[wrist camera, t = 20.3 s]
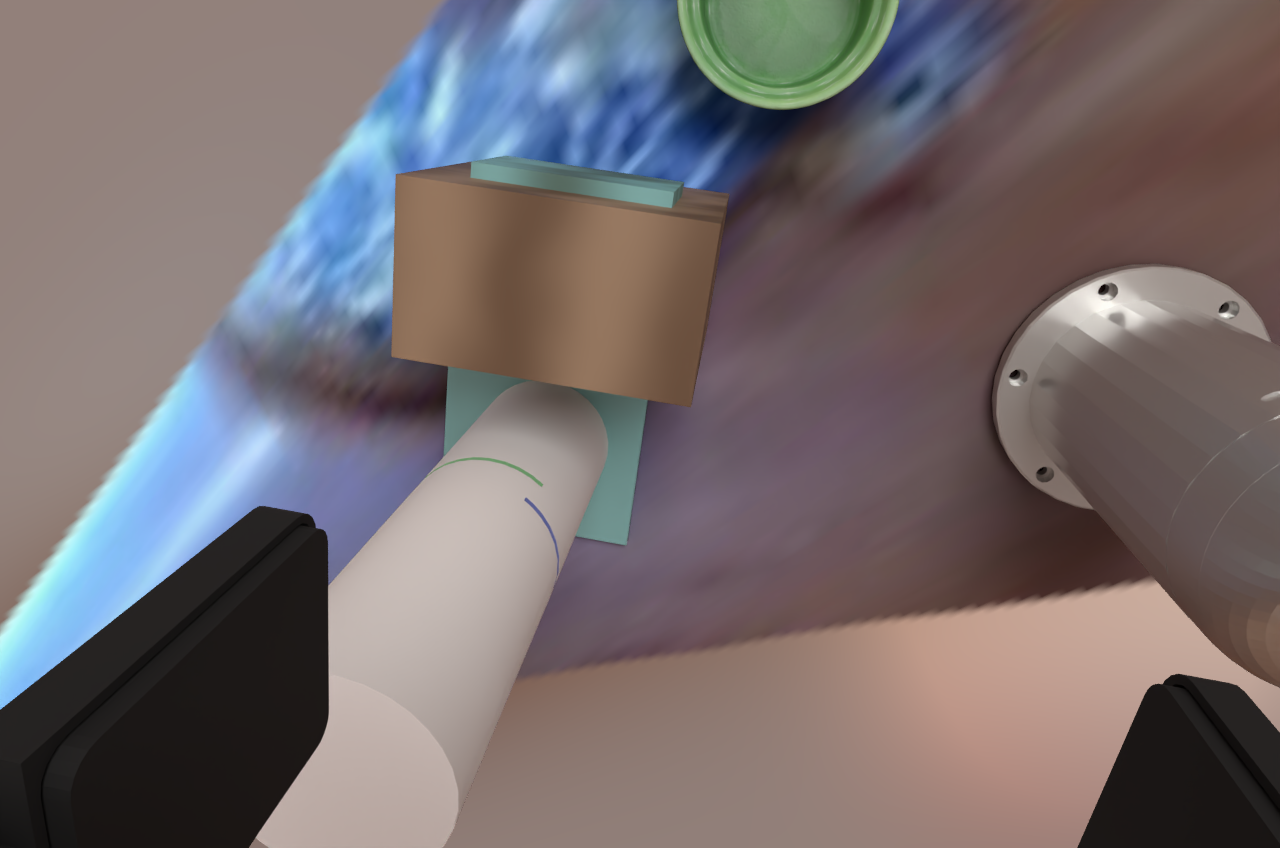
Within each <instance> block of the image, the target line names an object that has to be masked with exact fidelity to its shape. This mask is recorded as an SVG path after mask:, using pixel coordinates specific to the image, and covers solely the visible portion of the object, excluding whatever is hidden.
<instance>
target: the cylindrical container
mask: <svg viewBox="0 0 1280 848" xmlns="http://www.w3.org/2000/svg"><path fill="white" fill-rule="evenodd" d="M607 455H608V438H607V432H606V428H605V426H604V423H603V420H602V418H601V417H600V415H599V413H598V412H597V410H596V409H595V407H594V406H593V405H592V404H591V403H590V402H589V401H588V400H587V399H586V398H585V397H584V396H582V395H581V394H580V393H579V392H577V391H575V390H573V389H572V388H570V387H568V386H562V385H556V384H550V383H544V382H538V381H526V382H523V383H520V384H516V385H514V386H512V387H510V388H509V389H507V390H505V391H504V392H503V393H501V394H500V395H499V396H498V397H497V398H496V399H495V400H494V401H493V402H492V403H491V404H490V406H489V407H488V408H487V409H486V410H485V411H484V412H483V413H482V415H481V416H480V417H479V418H478V419H477V420H476V421H475V422H474V424H473V425H472V426H471V427H470V428H469V429H468V430H467V431H466V432H465V434H464V435H463V436H462V437H461V438H460V439H459V440H458V441H457V443H456V444H455V445H454V446H453V447H452V448H451V449H450V450H449V452H448V453H447V454H446V455H445V456H444V457H443V458H442V459H441V461H440V462H439V463H438V464H437V465H436V466H435V467H434V468H433V469H432V471H431V472H430V473H429V474H428V475H427V476H426V477H425V479H424V480H423V481H422V482H421V483H420V484H419V485H418V486H417V487H416V488H415V490H414V491H413V492H412V493H411V494H410V495H409V496H408V497H407V498H406V500H405V501H404V502H403V503H402V504H401V505H400V506H399V507H398V508H397V510H396V511H395V512H394V513H393V514H392V515H391V516H390V517H389V519H388V520H387V521H386V522H385V523H384V524H383V525H382V526H381V528H380V529H379V530H378V531H377V532H376V533H375V534H374V535H373V536H372V538H371V539H370V540H369V541H368V542H367V543H366V544H365V545H364V547H363V548H362V549H361V550H360V551H359V552H358V553H357V554H356V556H355V557H354V558H353V559H352V560H351V561H350V562H349V563H348V564H347V566H346V567H345V568H344V569H343V570H342V571H341V572H340V573H339V575H338V576H337V577H336V578H335V579H334V580H333V581H332V582H331V584H330V585H329V586H328V640H329V717H328V722H327V726H326V730H325V733H324V735H323V738H322V740H321V742H320V744H319V745H318V747H317V749H316V750H315V752H314V753H313V754H312V756H311V757H310V759H309V760H308V762H307V763H306V765H305V766H304V768H303V769H302V770H301V772H300V773H299V775H298V776H297V778H296V779H295V781H294V782H293V784H292V785H291V787H290V788H289V789H288V791H287V792H286V794H285V795H284V797H283V798H282V800H281V801H280V803H279V804H278V805H277V807H276V808H275V810H274V811H273V813H272V814H271V816H270V817H269V819H268V820H267V821H266V823H265V824H264V826H263V827H262V829H261V830H260V832H259V833H258V835H257V836H256V838H257V839H258V840H259V841H260V842H261V843H263V844H264V845H266V846H267V847H269V848H442V847H444V845H445V843H446V842H447V840H448V838H449V836H450V835H451V833H452V831H453V830H454V827H455V825H456V823H457V820H458V818H459V815H460V813H461V810H462V808H463V805H464V803H465V800H466V798H467V795H468V793H469V791H470V788H471V786H472V784H473V781H474V779H475V776H476V774H477V772H478V769H479V767H480V764H481V762H482V759H483V757H484V754H485V752H486V749H487V747H488V745H489V742H490V740H491V738H492V735H493V733H494V730H495V728H496V725H497V723H498V721H499V718H500V716H501V713H502V711H503V709H504V706H505V704H506V701H507V699H508V696H509V694H510V692H511V689H512V687H513V684H514V682H515V679H516V677H517V675H518V672H519V670H520V667H521V665H522V663H523V660H524V658H525V656H526V653H527V651H528V648H529V646H530V644H531V641H532V639H533V636H534V634H535V632H536V629H537V627H538V625H539V622H540V620H541V617H542V615H543V613H544V610H545V608H546V605H547V603H548V601H549V598H550V596H551V593H552V591H553V588H554V586H555V584H556V581H557V579H558V577H559V574H560V572H561V569H562V567H563V564H564V562H565V560H566V557H567V555H568V552H569V550H570V547H571V545H572V542H573V540H574V538H575V535H576V533H577V530H578V528H579V525H580V523H581V521H582V518H583V516H584V513H585V511H586V509H587V506H588V504H589V501H590V499H591V497H592V494H593V492H594V490H595V487H596V485H597V482H598V480H599V478H600V475H601V473H602V470H603V468H604V465H605V462H606V458H607Z"/></svg>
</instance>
